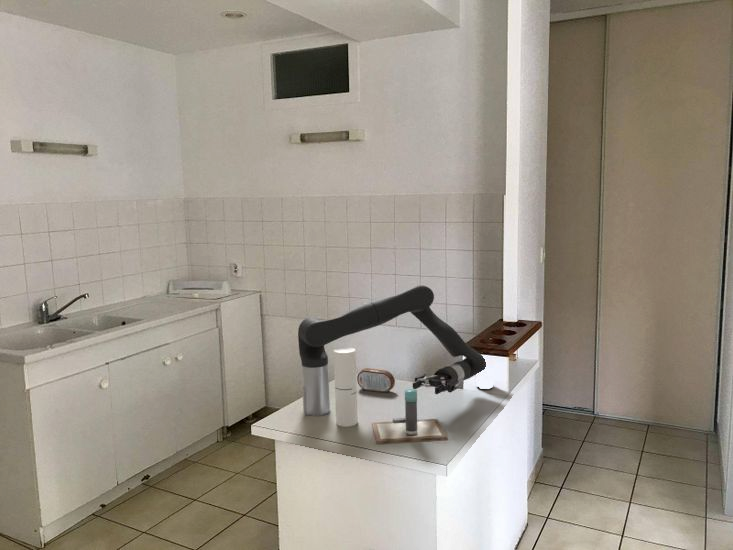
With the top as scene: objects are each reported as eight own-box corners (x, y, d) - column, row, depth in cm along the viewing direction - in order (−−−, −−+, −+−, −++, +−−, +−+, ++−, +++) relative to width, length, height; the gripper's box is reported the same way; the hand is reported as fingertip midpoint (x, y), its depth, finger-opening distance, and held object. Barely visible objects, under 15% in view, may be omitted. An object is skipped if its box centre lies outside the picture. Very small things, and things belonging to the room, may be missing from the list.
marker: (406, 436, 188) (405, 393, 186) (404, 431, 192) (403, 389, 190) (418, 436, 188) (417, 392, 186) (416, 431, 192) (416, 388, 190)
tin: (395, 391, 233) (394, 370, 232) (392, 394, 230) (391, 372, 229) (359, 387, 239) (359, 366, 238) (356, 390, 236) (355, 369, 235)
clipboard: (376, 443, 186) (376, 438, 186) (371, 425, 201) (371, 419, 200) (447, 439, 188) (447, 433, 187) (437, 420, 202) (437, 415, 202)
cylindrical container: (333, 420, 205) (330, 348, 202) (352, 417, 208) (350, 346, 205) (340, 428, 199) (338, 354, 195) (360, 424, 202) (358, 351, 198)
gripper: (431, 362, 216) (406, 373, 203) (467, 369, 207) (443, 381, 194) (431, 383, 217) (406, 395, 204) (467, 390, 208) (443, 404, 195)
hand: (424, 388), depth 199 cm, fingers open, 8 cm apart
